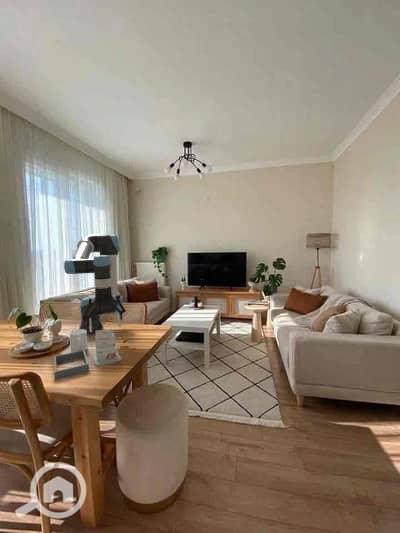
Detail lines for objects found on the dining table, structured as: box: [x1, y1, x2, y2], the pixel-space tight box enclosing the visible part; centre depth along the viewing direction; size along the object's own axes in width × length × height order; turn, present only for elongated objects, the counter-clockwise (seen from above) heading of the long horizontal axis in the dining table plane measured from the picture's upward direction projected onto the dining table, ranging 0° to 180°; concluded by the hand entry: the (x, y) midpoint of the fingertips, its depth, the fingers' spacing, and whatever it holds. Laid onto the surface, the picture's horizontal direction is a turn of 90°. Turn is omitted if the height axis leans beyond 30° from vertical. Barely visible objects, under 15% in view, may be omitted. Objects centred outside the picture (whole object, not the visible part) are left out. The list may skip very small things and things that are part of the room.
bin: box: [53, 350, 90, 381], centre depth 117 cm, size 18×13×4 cm
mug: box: [69, 329, 88, 353], centre depth 135 cm, size 12×8×10 cm
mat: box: [91, 349, 123, 368], centre depth 125 cm, size 12×12×1 cm
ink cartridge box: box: [94, 329, 117, 360], centre depth 124 cm, size 9×5×15 cm, turn 95°
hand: (105, 328), depth 124 cm, fingers open, 13 cm apart
